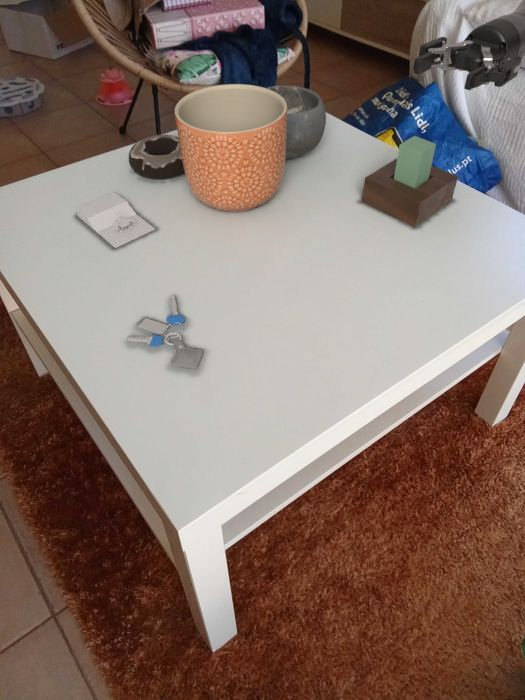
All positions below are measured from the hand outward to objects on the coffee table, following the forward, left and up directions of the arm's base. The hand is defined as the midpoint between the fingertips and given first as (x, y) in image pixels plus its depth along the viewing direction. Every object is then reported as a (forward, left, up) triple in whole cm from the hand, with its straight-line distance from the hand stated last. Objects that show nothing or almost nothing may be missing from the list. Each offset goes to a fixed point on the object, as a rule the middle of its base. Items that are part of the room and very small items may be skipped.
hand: (441, 74), depth 81 cm
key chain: (+17, +49, -20) cm, 55 cm away
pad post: (+1, +3, -19) cm, 20 cm away
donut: (+44, +13, -20) cm, 50 cm away
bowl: (+27, -2, -20) cm, 33 cm away
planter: (+27, +15, -20) cm, 36 cm away
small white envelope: (+40, +31, -20) cm, 54 cm away
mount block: (+1, +3, -19) cm, 20 cm away
